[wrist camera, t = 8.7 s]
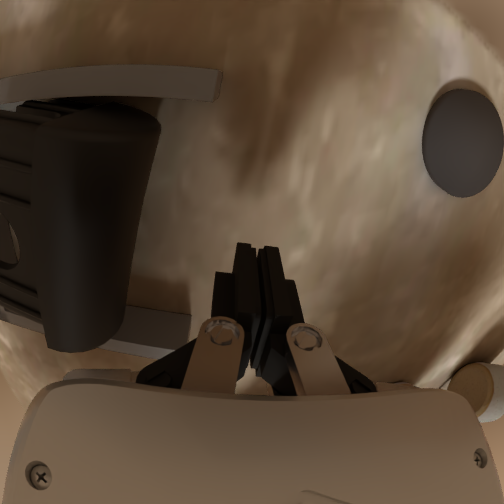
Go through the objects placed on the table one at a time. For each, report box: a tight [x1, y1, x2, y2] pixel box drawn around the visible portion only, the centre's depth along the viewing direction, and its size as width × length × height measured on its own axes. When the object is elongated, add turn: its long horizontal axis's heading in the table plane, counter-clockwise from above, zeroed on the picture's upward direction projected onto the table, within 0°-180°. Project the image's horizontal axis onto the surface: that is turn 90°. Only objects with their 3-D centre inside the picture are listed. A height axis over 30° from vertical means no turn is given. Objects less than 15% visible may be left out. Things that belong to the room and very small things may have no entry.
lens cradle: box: [0, 64, 223, 360], centre depth 13 cm, size 15×14×3 cm
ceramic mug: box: [447, 362, 504, 422], centre depth 25 cm, size 11×8×8 cm
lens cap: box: [422, 89, 504, 198], centre depth 13 cm, size 6×6×1 cm
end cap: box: [0, 98, 161, 353], centre depth 11 cm, size 10×7×7 cm
